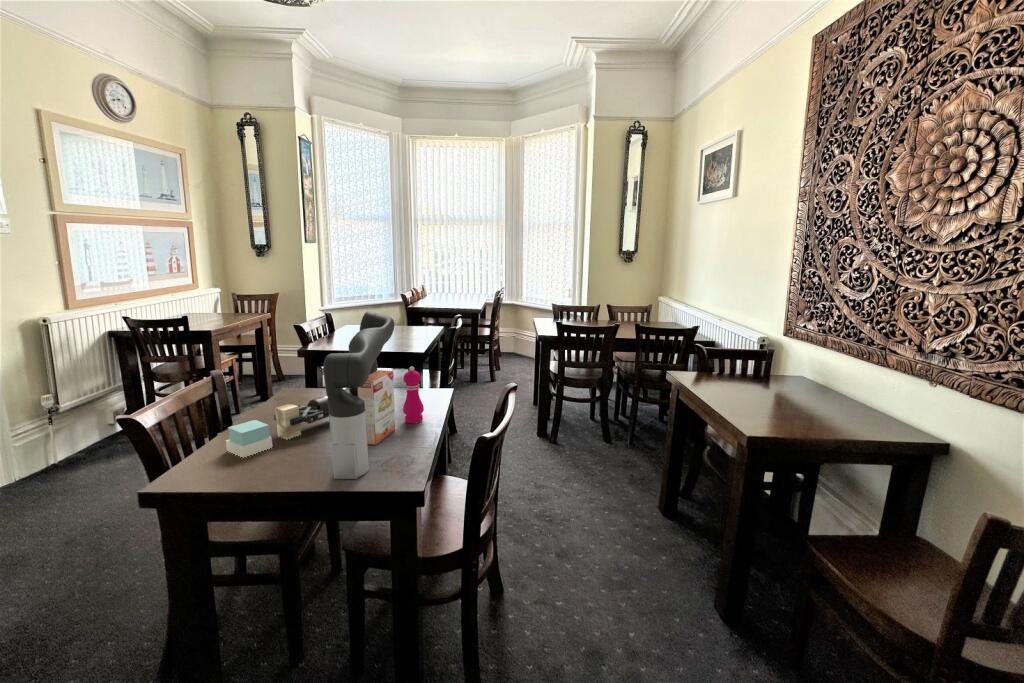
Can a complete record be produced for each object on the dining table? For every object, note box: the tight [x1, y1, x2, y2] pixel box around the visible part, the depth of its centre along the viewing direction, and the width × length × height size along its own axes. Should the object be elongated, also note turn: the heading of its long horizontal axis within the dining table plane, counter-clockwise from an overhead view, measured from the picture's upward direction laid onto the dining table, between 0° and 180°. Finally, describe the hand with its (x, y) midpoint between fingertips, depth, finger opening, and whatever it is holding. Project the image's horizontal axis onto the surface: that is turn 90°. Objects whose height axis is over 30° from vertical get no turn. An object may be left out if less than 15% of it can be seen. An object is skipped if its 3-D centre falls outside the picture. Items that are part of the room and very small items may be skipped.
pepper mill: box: [402, 366, 425, 424], centre depth 166 cm, size 7×7×20 cm
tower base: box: [225, 436, 273, 459], centre depth 143 cm, size 9×9×4 cm
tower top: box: [227, 419, 271, 446], centre depth 142 cm, size 8×8×4 cm
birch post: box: [274, 403, 302, 441], centre depth 153 cm, size 5×5×10 cm
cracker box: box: [358, 369, 396, 446], centre depth 152 cm, size 14×6×21 cm, turn 168°
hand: (282, 420), depth 151 cm, fingers open, 8 cm apart
